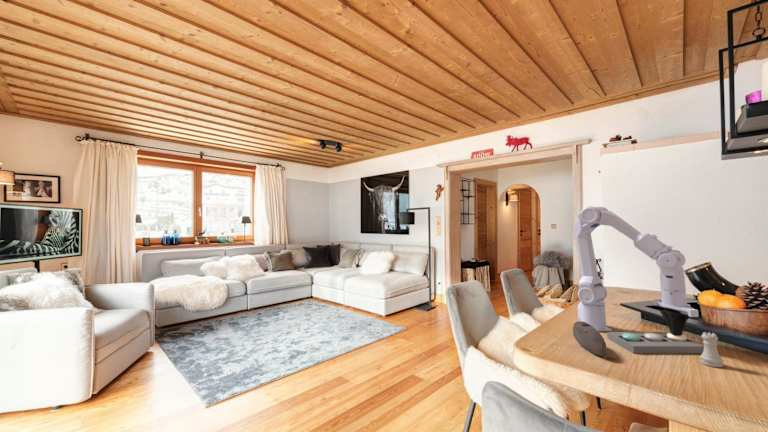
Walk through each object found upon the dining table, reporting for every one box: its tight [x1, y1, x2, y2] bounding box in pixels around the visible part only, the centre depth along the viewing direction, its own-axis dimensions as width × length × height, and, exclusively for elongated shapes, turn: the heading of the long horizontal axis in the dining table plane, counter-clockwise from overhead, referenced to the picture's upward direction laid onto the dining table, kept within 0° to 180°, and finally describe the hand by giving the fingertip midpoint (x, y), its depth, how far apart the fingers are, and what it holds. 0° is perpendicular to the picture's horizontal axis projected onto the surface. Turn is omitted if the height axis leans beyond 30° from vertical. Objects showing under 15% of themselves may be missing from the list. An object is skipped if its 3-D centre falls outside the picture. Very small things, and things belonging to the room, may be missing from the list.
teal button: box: [622, 333, 640, 342], centre depth 100 cm, size 4×4×1 cm
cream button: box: [667, 333, 687, 342], centre depth 98 cm, size 4×4×1 cm
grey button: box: [644, 333, 663, 342], centre depth 99 cm, size 4×4×1 cm
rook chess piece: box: [699, 331, 725, 368], centre depth 85 cm, size 4×4×8 cm
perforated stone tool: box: [572, 320, 607, 357], centre depth 97 cm, size 15×5×7 cm, turn 170°
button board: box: [606, 331, 704, 354], centre depth 99 cm, size 13×20×2 cm, turn 84°
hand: (676, 334), depth 98 cm, fingers closed
